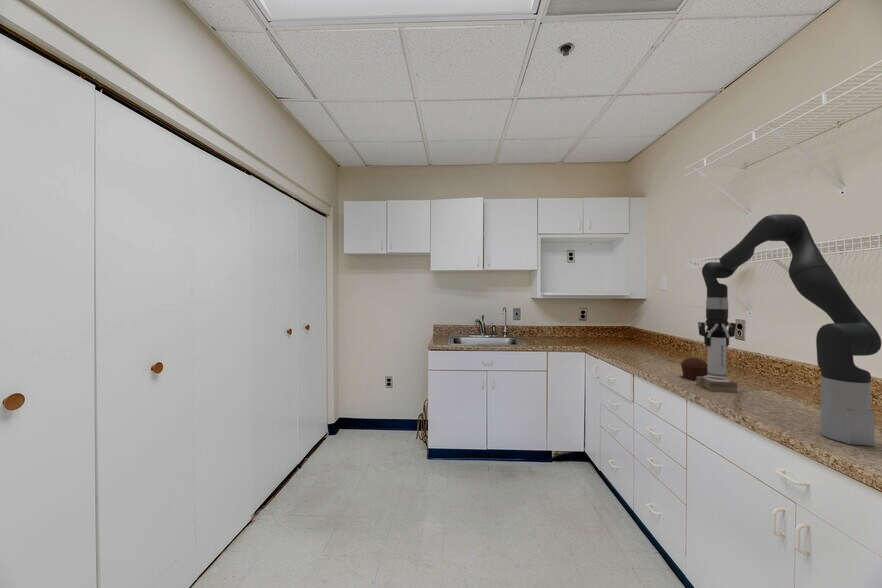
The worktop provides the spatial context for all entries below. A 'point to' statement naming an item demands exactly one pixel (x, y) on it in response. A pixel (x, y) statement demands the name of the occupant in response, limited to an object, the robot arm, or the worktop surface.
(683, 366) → the muffin
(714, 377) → the walnut stand
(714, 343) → the travel mug
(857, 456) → the worktop surface
